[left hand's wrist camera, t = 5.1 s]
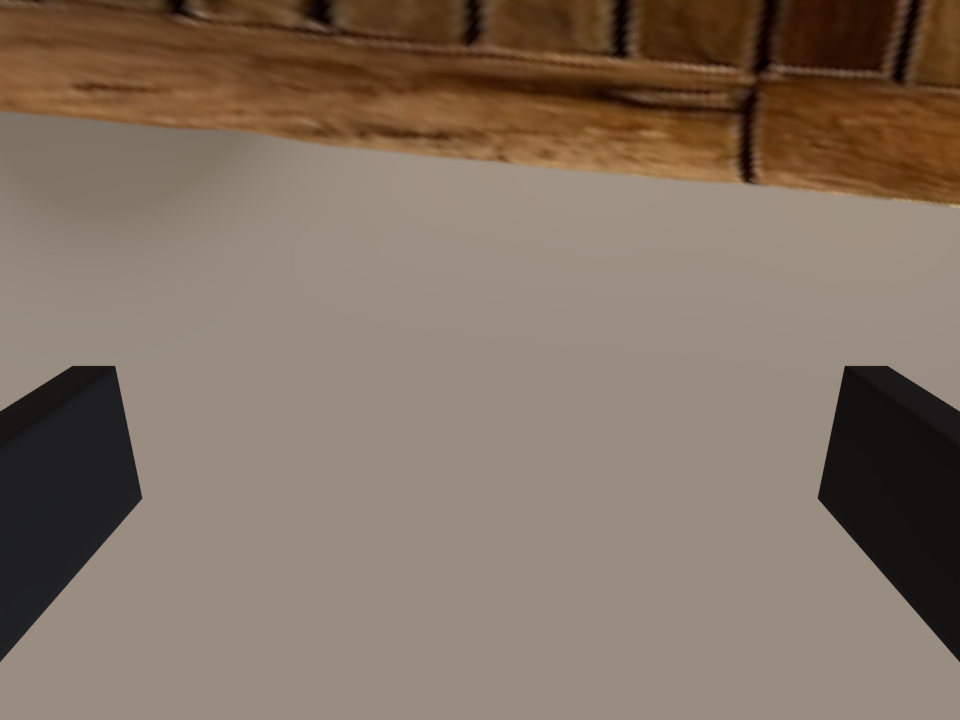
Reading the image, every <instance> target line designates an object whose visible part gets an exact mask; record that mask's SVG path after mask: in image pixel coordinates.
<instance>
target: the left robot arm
mask: <svg viewBox="0 0 960 720" xmlns="http://www.w3.org/2000/svg"><path fill="white" fill-rule="evenodd" d="M141 499H142V495H141V490H140V485H139V480H138V475H137V470H136V465H135V460H134V456H133V451H132V446H131V441H130V436H129V431H128V427H127V421H126V417H125V412H124V407H123V402H122V397H121V392H120V387H119V382H118V378H117V373H116V368H115V366H72V367H70V368H69V369H67V370H65V371H64V372H62V373H61V374H59V375H57V376H56V377H54V378H53V379H51V380H50V381H48V382H46V383H45V384H43V385H42V386H40V387H38V388H37V389H35V390H34V391H32V392H30V393H29V394H27V395H26V396H24V397H23V398H21V399H19V400H18V401H16V402H15V403H13V404H11V405H10V406H8V407H7V408H5V409H3V410H2V411H0V662H1V660H2V659H3V658H4V657H5V656H6V655H7V654H8V652H9V651H10V650H11V649H12V648H13V647H14V646H15V644H16V643H17V642H18V641H19V640H20V639H21V638H22V636H23V635H24V634H25V633H26V632H27V631H28V629H29V628H30V627H31V626H32V625H33V624H34V623H35V621H36V620H37V619H38V618H39V617H40V616H41V614H42V613H43V612H44V611H45V610H46V609H47V608H48V606H49V605H50V604H51V603H52V602H53V601H54V599H55V598H56V597H57V596H58V595H59V594H60V593H61V591H62V590H63V589H64V588H65V587H66V586H67V584H68V583H69V582H70V581H71V580H72V579H73V578H74V576H75V575H76V574H77V573H78V572H79V571H80V570H81V568H82V567H83V566H84V565H85V564H86V563H87V562H88V560H89V559H90V558H91V557H92V556H93V555H94V553H95V552H96V551H97V550H98V549H99V548H100V547H101V545H102V544H103V543H104V542H105V541H106V540H107V538H108V537H109V536H110V535H111V534H112V533H113V532H114V530H115V529H116V528H117V527H118V526H119V525H120V524H121V522H122V521H123V520H124V519H125V518H126V517H127V515H128V514H129V513H130V512H131V511H132V510H133V509H134V507H135V506H136V505H137V504H138V503H139V502H140V500H141ZM818 499H819V500H820V502H821V503H822V504H823V505H824V506H825V507H826V509H827V510H828V511H829V512H830V513H831V514H832V515H833V517H834V518H835V519H836V520H837V521H838V522H839V523H840V525H841V526H842V527H843V528H844V529H845V530H846V532H847V533H848V534H849V535H850V536H851V537H852V538H853V540H854V541H855V542H856V543H857V544H858V545H859V547H860V548H861V549H862V550H863V551H864V552H865V553H866V555H867V556H868V557H869V558H870V559H871V560H872V562H873V563H874V564H875V565H876V566H877V567H878V568H879V569H880V571H881V572H882V573H883V574H884V575H885V576H886V578H887V579H888V580H889V581H890V582H891V583H892V585H893V586H894V587H895V588H896V589H897V590H898V591H899V593H900V594H901V595H902V596H903V597H904V598H905V600H906V601H907V602H908V603H909V604H910V605H911V606H912V608H913V609H914V610H915V611H916V612H917V613H918V614H919V616H920V617H921V618H922V619H923V620H924V621H925V623H926V624H927V625H928V626H929V627H930V628H931V629H932V631H933V632H934V633H935V634H936V635H937V636H938V638H939V639H940V640H941V641H942V642H943V643H944V644H945V646H946V647H947V648H948V649H949V650H950V651H951V652H952V654H953V655H954V656H955V657H956V658H957V659H958V660H959V662H960V411H958V410H957V409H955V408H953V407H952V406H950V405H949V404H947V403H945V402H944V401H942V400H941V399H939V398H938V397H936V396H934V395H933V394H931V393H930V392H928V391H926V390H925V389H923V388H922V387H920V386H918V385H917V384H915V383H914V382H912V381H910V380H909V379H907V378H906V377H904V376H903V375H901V374H899V373H898V372H896V371H895V370H893V369H891V368H890V367H888V366H845V368H844V373H843V378H842V382H841V387H840V392H839V397H838V402H837V407H836V412H835V417H834V421H833V426H832V431H831V436H830V441H829V446H828V451H827V456H826V461H825V465H824V470H823V475H822V480H821V485H820V490H819V495H818Z"/></svg>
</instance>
